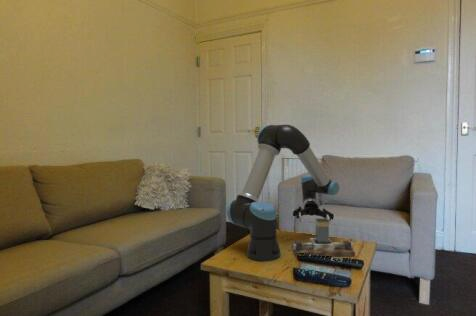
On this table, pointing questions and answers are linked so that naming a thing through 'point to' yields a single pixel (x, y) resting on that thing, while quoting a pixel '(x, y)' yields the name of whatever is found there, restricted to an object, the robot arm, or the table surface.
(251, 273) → the table surface
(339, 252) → the shaft board
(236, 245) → the table surface
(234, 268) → the table surface
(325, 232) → the coupler
